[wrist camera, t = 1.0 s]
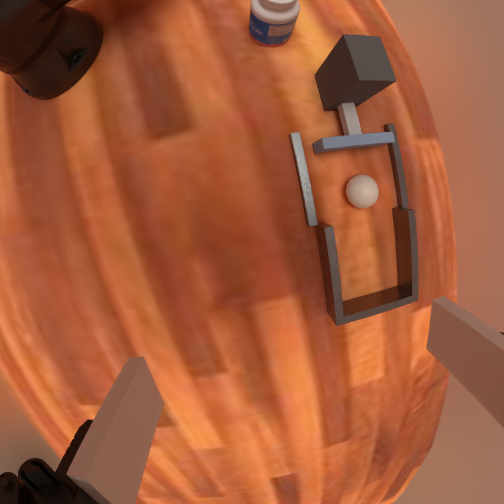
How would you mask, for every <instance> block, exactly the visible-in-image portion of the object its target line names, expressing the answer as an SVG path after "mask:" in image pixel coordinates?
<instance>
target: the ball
mask: <svg viewBox="0 0 504 504" xmlns="http://www.w3.org/2000/svg"><path fill="white" fill-rule="evenodd" d="M346 195H347V198H348V200H349V201H350V203H351V204H352V205H354V206H356V207H358V208H368V207H370V206H372V205H373V204H374V203H375V202H376V200H377V198H378V195H379V189H378V186H377V184H376V182H375V181H374V180H373V179H372V178H371V177H369V176H367V175H356V176H354V177H353V178H351V179H350V180H349V182H348V184H347V186H346Z"/></svg>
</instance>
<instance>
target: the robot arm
mask: <svg viewBox="0 0 504 504" xmlns="http://www.w3.org/2000/svg"><path fill="white" fill-rule="evenodd" d="M69 1H71V0H0V71H1V72H4V73H7V74H9V75H11V77H12V78H13V79H14V80H15V81H16V83H17V84H18V85H19V86H20V87H21V88H22V90H23V91H24V92H25V93H26V94H28V95H29V96H32V97H35V98H37V99H50V98H53V97H56V96H58V95H60V94H62V93H63V92H65V91H66V90H68V89H69V88H70V87H72V86H73V85H74V84H75V83H76V82H77V81H78V80H79V79H80V78H81V77H82V76H83V75H84V74H85V72H86V71H87V70H88V68H89V67H90V66H91V64H92V63H93V61H94V59H95V58H96V56H97V54H98V51H99V49H100V46H101V43H102V38H103V30H102V26H101V24H100V23H99V21H98V20H97V19H96V18H95V17H94V16H93V15H92V14H90V13H88V12H85V11H81V10H78V9H75V8H72V7H68V6H65V4H67V3H68V2H69ZM426 349H427V350H428V351H429V352H430V353H431V354H432V355H433V356H434V357H435V358H436V359H438V360H439V361H440V362H441V363H442V364H443V365H444V366H445V367H446V368H447V369H448V370H449V371H450V372H451V373H452V374H453V375H454V376H455V377H456V378H457V379H458V381H459V382H460V383H461V384H462V385H463V386H464V387H465V388H466V389H467V390H468V391H469V392H470V393H471V394H472V395H473V396H474V397H475V398H476V399H477V400H478V401H479V402H480V403H481V404H482V406H483V407H484V408H485V409H486V410H487V411H488V412H489V413H490V414H491V415H492V416H493V417H494V419H495V420H496V421H497V422H498V423H499V424H500V425H501V426H502V427H503V428H504V333H502V332H498V331H497V330H495V329H494V328H492V327H491V326H490V325H488V324H486V323H485V322H484V321H482V320H481V319H479V318H477V317H476V316H474V315H473V314H471V313H470V312H468V311H467V310H465V309H463V308H462V307H460V306H459V305H457V304H456V303H454V302H453V301H451V300H449V299H448V298H446V297H445V296H443V297H440V298H437V299H434V300H432V309H431V318H430V327H429V334H428V341H427V348H426ZM163 404H164V401H163V399H162V397H161V395H160V393H159V391H158V389H157V386H156V384H155V382H154V380H153V377H152V375H151V373H150V370H149V368H148V366H147V363H146V361H145V358H144V357H133V358H128V360H127V362H126V363H125V365H124V367H123V368H122V370H121V372H120V374H119V375H118V377H117V379H116V381H115V382H114V384H113V386H112V388H111V389H110V391H109V393H108V395H107V397H106V398H105V400H104V402H103V404H102V406H101V407H100V409H99V411H98V413H97V415H96V417H95V418H94V420H87V421H86V422H85V423H84V424H83V425H81V426H80V427H79V429H78V431H77V432H76V434H75V436H74V439H73V440H72V441H71V443H70V447H68V449H67V451H66V453H65V454H64V456H63V458H62V460H61V462H60V464H59V466H58V468H57V470H56V472H54V471H53V470H52V469H51V468H50V467H49V465H48V464H46V462H44V461H43V460H42V459H38V458H33V459H29V460H27V461H25V462H24V463H23V464H22V465H21V467H20V469H19V471H18V477H17V476H16V475H15V474H13V473H11V472H5V473H3V474H1V475H0V504H135V503H136V499H137V495H138V491H139V487H140V484H141V480H142V476H143V473H144V469H145V465H146V462H147V458H148V455H149V451H150V448H151V444H152V441H153V437H154V434H155V431H156V427H157V424H158V421H159V417H160V414H161V411H162V408H163ZM22 481H23V482H22Z"/></svg>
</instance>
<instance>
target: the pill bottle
mask: <svg viewBox="0 0 504 504" xmlns="http://www.w3.org/2000/svg"><path fill="white" fill-rule="evenodd" d="M299 11H300V4H299V2H298V0H252V1H251V9H250V23H249V33H250V36H251V37H252V39H253V40H254V41H255V42H257V43H259V44H261V45H264V46H269V47H275V46H280V45H282V44H284V43H285V42H287V41H288V39H289V38H290V36H291V33H292V30H293V28H294V25H295V22H296V20H297V17H298V14H299Z"/></svg>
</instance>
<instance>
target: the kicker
mask: <svg viewBox="0 0 504 504" xmlns="http://www.w3.org/2000/svg"><path fill="white" fill-rule="evenodd" d="M315 78H316V81H317V85H318V88H319V92H320V95H321V99H322V103H323V106H324V110H325V111H326V110H338V112H339V116H340V120H341V124H342V128H343V132H344V136H337V137H328V138H321V139H320V140H318V141H316V142H315V143H313V148H314V153H322V152H329V151H337V150H345V149H354V148H363V147H373V146H381V145H385V144H389V143H392V142H395V140H394V135H393V132H382V133H368V134H362V132H361V128H360V123H359V119H358V115H357V112H356V108H355V107H357V106H358V105H360V104H361V103H363V102H364V101H366V100H367V99H369V98H370V97H372V96H373V95H375V94H377V93H378V92H380V91H381V90H383V89H384V88H386V87H388V86H389V85H391V84H392V83H394V82H396V79H395V76H394V73H393V70H392V67H391V64H390V61H389V58H388V56H387V53H386V51H385V48H384V45H383V43H382V40H381V38H380V37H375V36H364V35H346V34H343V36H342V37H341V38H340V40H339V41H338V42H337V44H336V45H335V47H334V48H333V49H332V51H331V52H330V54H329V55H328V57H327V58H326V59H325V61H324V62H323V64H322V65H321V67H320V68H319V70H318V71H317V72H316V74H315Z"/></svg>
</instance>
